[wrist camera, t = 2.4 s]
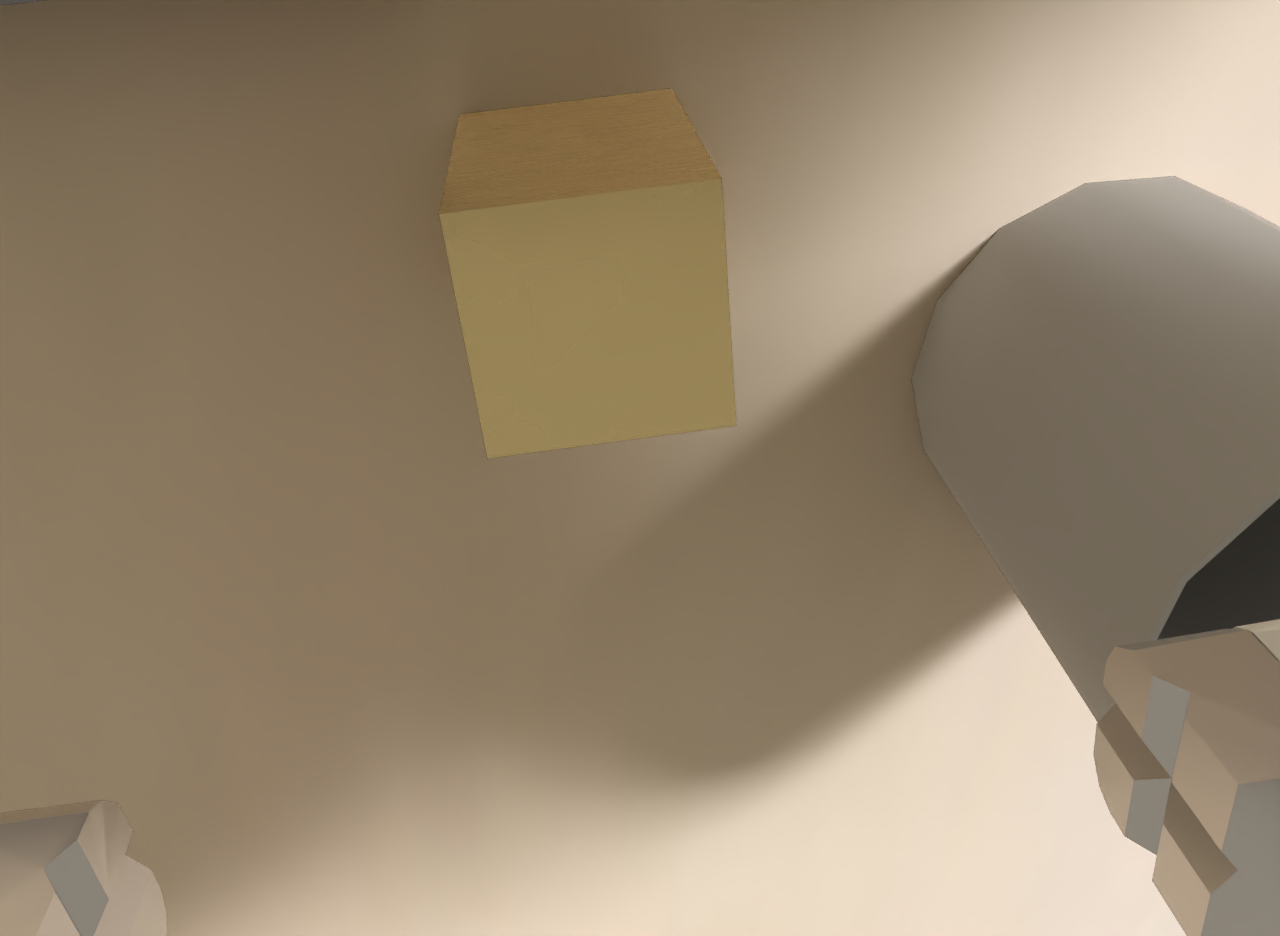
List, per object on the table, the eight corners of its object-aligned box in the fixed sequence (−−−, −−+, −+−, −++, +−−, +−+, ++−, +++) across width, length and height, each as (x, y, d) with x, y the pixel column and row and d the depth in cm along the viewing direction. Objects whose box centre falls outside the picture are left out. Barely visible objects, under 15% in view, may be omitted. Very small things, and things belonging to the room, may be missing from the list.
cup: (1361, 261, 24) (1835, 511, 15) (1139, 556, 27) (1420, 891, 19) (1042, 115, 22) (1388, 312, 13) (846, 457, 25) (1015, 788, 17)
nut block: (671, 88, 21) (721, 178, 15) (687, 287, 23) (736, 426, 18) (459, 113, 20) (438, 213, 15) (494, 312, 23) (487, 458, 17)
